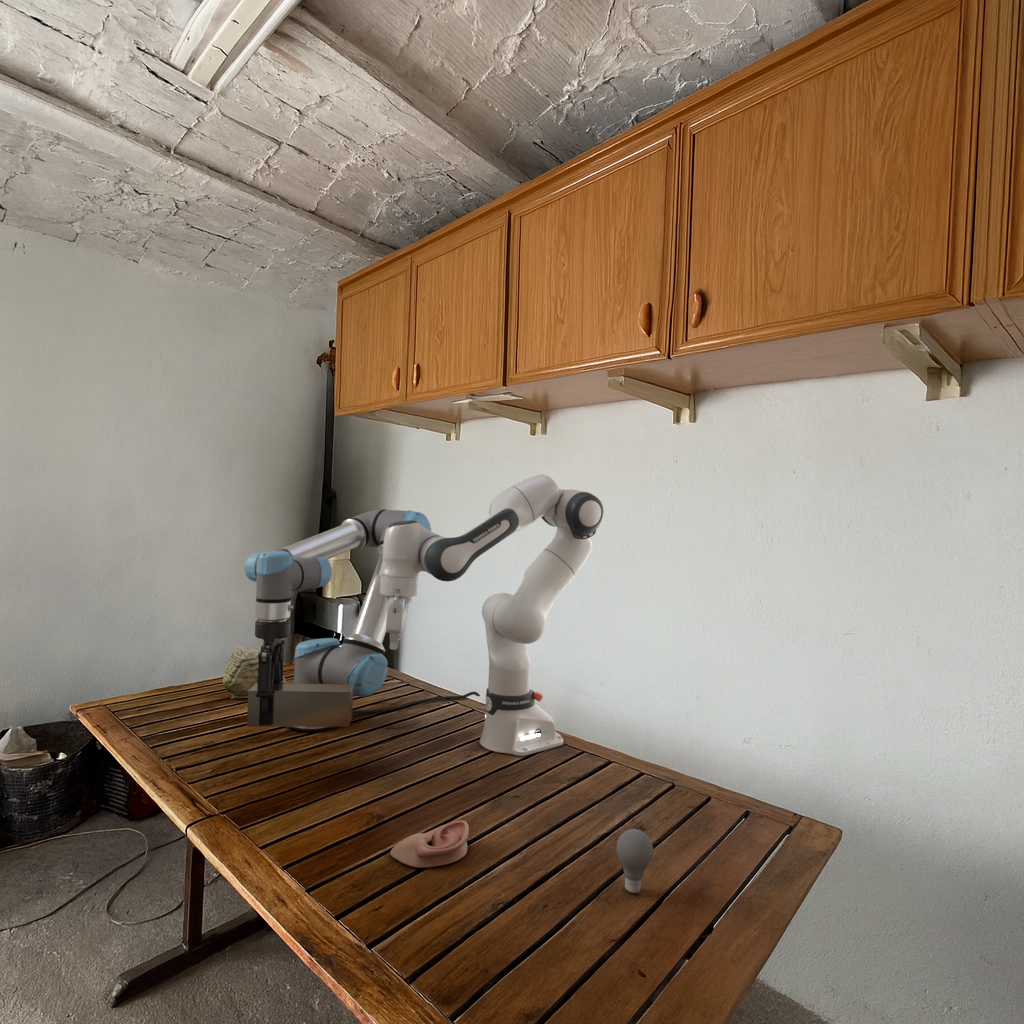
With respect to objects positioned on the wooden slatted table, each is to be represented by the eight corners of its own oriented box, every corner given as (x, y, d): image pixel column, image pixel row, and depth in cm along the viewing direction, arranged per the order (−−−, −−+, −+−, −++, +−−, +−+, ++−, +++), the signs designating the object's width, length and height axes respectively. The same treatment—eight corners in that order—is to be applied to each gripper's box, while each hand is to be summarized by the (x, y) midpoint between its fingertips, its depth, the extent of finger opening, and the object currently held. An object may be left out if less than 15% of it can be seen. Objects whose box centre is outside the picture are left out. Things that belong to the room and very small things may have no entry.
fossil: (218, 695, 195) (220, 647, 195) (278, 685, 208) (279, 640, 207) (228, 703, 189) (230, 653, 188) (289, 692, 201) (290, 645, 201)
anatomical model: (384, 839, 110) (407, 809, 122) (383, 862, 111) (407, 829, 122) (457, 851, 108) (474, 819, 119) (456, 874, 108) (473, 840, 119)
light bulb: (610, 879, 108) (613, 822, 108) (644, 879, 109) (647, 822, 109) (619, 902, 102) (622, 840, 102) (655, 901, 103) (658, 840, 103)
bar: (246, 726, 142) (248, 690, 142) (254, 717, 147) (255, 683, 147) (348, 726, 144) (350, 691, 144) (352, 718, 150) (353, 684, 150)
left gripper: (279, 628, 136) (275, 735, 136) (299, 612, 154) (295, 706, 155) (243, 627, 135) (239, 735, 135) (267, 611, 153) (263, 706, 154)
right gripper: (410, 594, 143) (406, 655, 143) (413, 582, 163) (410, 636, 163) (381, 592, 142) (377, 654, 142) (389, 581, 162) (385, 635, 162)
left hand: (269, 719), depth 145 cm, fingers closed on bar, 6 cm apart
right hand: (395, 644), depth 153 cm, fingers open, 8 cm apart
